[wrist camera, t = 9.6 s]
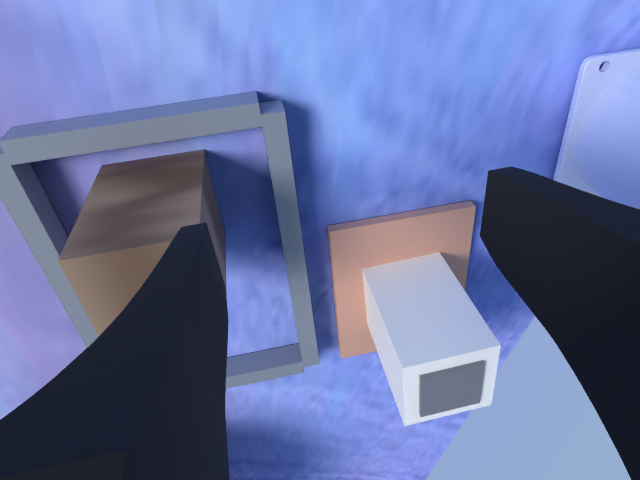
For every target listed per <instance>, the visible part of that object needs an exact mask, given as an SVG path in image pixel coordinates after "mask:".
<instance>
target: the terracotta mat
mask: <svg viewBox="0 0 640 480" xmlns="http://www.w3.org/2000/svg"><path fill="white" fill-rule="evenodd" d="M475 210H476V205H475V204H474V203H473V202H472V201H465V202H459V203H454V204H448V205H442V206H437V207H431V208H425V209H420V210H414V211H408V212H402V213H397V214H391V215H385V216H380V217H374V218H368V219H363V220H357V221H351V222H346V223H340V224H334V225H329V226H327V228H328V239H329V249H330V260H331V270H332V281H333V291H334V302H335V312H336V323H337V333H338V344H339V352H340V356H341V358H345V357H350V356H355V355H360V354H365V353H370V352H375V351H377V349H376V346H375V344H374V341H373V338H372V336H371V333H370V330H369V327H368V325H367V314H366V304H365V293H364V283H363V273H362V269H365V268H369V267H374V266H378V265H383V264H387V263H392V262H397V261H401V260H406V259H410V258H415V257H419V256H424V255H429V254H433V253H438V252H440V254H441V255H442V257H443V258H444V260H445V261H446V263H447V264H448V266H449V267H450V269H451V271H452V272H453V274H454V275H455V277H456V278H457V280H458V281H459V283H460V284H461V286H462V287H463V289H464V290H465V286H466V279H467V271H468V263H469V256H470V248H471V241H472V233H473V225H474V218H475Z"/></svg>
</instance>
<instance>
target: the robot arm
mask: <svg viewBox="0 0 640 480" xmlns="http://www.w3.org/2000/svg"><path fill="white" fill-rule="evenodd" d="M603 62H604V65H603V67H602V68H601V69H599V67H600V65H601V64H602V63H603ZM605 198H606V199H605ZM480 237H481V239H482V241H483V243H484V244H485V246H486V248H487V250H488V252H489V254H490V255H491V257H492V259H493V261H494V262H495V264H496V266H497V267H498V268H499V270H500V271H501V272H502V274H503V275H504V276H505V278H506V279H507V280H508V282H509V283H510V284H511V285H512V287H513V288H514V289H515V291H516V292H517V293H518V294H519V296H520V297H521V298H522V300H523V301H524V302H525V303H526V305H527V306H528V307H529V308H530V310H531V311H532V312H533V313H534V315H535V316H536V317H537V319H538V320H539V321H540V322H541V324H542V325H543V326H544V327H545V329H546V330H547V331H548V333H549V334H550V336H551V337H552V338H553V340H554V341H555V343H556V344H557V345H558V347H559V349H560V350H561V352H562V354H563V355H564V357H565V359H566V360H567V362H568V363H569V365H570V367H571V368H572V370H573V371H574V373H575V375H576V376H577V378H578V380H579V382H580V383H581V385H582V387H583V389H584V390H585V392H586V393H587V395H588V397H589V399H590V401H591V402H592V404H593V406H594V408H595V409H596V411H597V413H598V415H599V417H600V419H601V421H602V422H603V424H604V426H605V428H606V430H607V432H608V434H609V436H610V438H611V440H612V441H613V443H614V445H615V447H616V449H617V451H618V452H619V455H620V457H621V459H622V461H623V463H624V465H625V467H626V469H627V471H628V474H629V476H630V478H631V480H640V48H636V49H630V50H623V51H616V52H610V53H603V54H596V55H591V56H588V57H587V58H586V59H584V61H583V62H582V63H581V66H580V69H579V73H578V77H577V81H576V85H575V90H574V94H573V98H572V102H571V106H570V111H569V115H568V119H567V123H566V127H565V132H564V136H563V140H562V144H561V148H560V153H559V157H558V161H557V165H556V170H555V174H554V178H553V180H552V179H549V178H546V177H543V176H541V175H538V174H535V173H532V172H529V171H526V170H522V169H519V168H515V167H506V168H501V169H496V170H490V171H488V178H487V186H486V193H485V201H484V208H483V216H482V224H481V231H480ZM227 343H228V311H227V299H226V289H225V283H224V280H223V277H222V273H221V270H220V266H219V263H218V260H217V256H216V253H215V249H214V246H213V243H212V239H211V236H210V232H209V229H208V226H207V222H205V223H200V224H194V225H189V226H183V227H181V228H180V229H179V231H178V232H177V234H176V235H175V237H174V238H173V240H172V241H171V243H170V245H169V246H168V248H167V249H166V251H165V252H164V254H163V256H162V257H161V259H160V260H159V262H158V263H157V265H156V266H155V268H154V269H153V270H152V272H151V273H150V275H149V276H148V278H147V279H146V281H145V282H144V283H143V285H142V286H141V288H140V289H139V290H138V291H137V293H136V294H135V295H134V297H133V298H132V299H131V300H130V302H129V303H128V304H127V306H126V307H125V308H124V309H123V310H122V312H121V313H120V314H119V315H118V316H117V317H116V319H115V320H114V321H113V322H112V323H111V324H110V325H109V326H108V327H107V328H106V329H105V330H104V331H103V332H102V334H101V335H100V336H99V337H98V338H97V339H96V340H95V341H94V342H93V343H92V344H91V345H90V346H89V347H88V348H87V349H85V350H84V351H83V352H82V353H81V354H80V355H79V356H78V357H77V358H76V359H74V360H73V361H72V362H71V363H70V364H69V365H68V366H67V367H66V368H65V369H64V370H62V371H61V372H60V373H59V374H58V375H57V376H56V377H55V378H53V379H52V380H51V381H50V382H49V383H47V384H46V385H45V386H44V387H42V388H41V389H40V390H39V391H38V392H36V393H35V394H34V395H33V396H31V397H30V398H29V399H27V400H26V401H25V402H24V403H22V404H21V405H20V406H18V407H17V408H16V409H14V410H13V411H12V412H10V413H9V414H8V415H6V416H5V417H4V418H2V419H1V420H0V480H229V467H228V454H227V438H226V422H225V390H226V367H227Z"/></svg>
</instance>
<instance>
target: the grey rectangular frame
mask: <svg viewBox="0 0 640 480" xmlns="http://www.w3.org/2000/svg"><path fill="white" fill-rule="evenodd" d="M257 127H262V128H263V134H264V140H265V146H266V152H267V158H268V164H269V169H270V175H271V181H272V187H273V193H274V199H275V205H276V211H277V217H278V222H279V228H280V234H281V240H282V246H283V252H284V258H285V264H286V269H287V275H288V281H289V287H290V293H291V299H292V305H293V311H294V316H295V322H296V328H297V334H298V340H299V343H298V344H293V345H288V346H283V347H278V348H273V349H268V350H263V351H258V352H253V353H248V354H243V355H238V356H233V357H228V358H227V367H226V388H231V387H236V386H241V385H246V384H250V383H255V382H260V381H265V380H270V379H275V378H280V377H284V376H289V375H294V374H299V373H304V367H307V366H312V365H317V364H319V356H318V349H317V342H316V335H315V327H314V320H313V313H312V305H311V298H310V291H309V283H308V276H307V269H306V261H305V254H304V247H303V239H302V232H301V225H300V217H299V210H298V203H297V196H296V188H295V181H294V174H293V166H292V159H291V152H290V144H289V137H288V130H287V122H286V115H285V110H284V107H283V104H282V101H281V100H274V101H267V102H260V103H259V102H258V97H257V93H256V91H255V92H248V93H242V94H235V95H228V96H221V97H214V98H207V99H201V100H194V101H187V102H180V103H173V104H166V105H159V106H153V107H146V108H139V109H132V110H125V111H118V112H112V113H105V114H98V115H91V116H84V117H77V118H70V119H64V120H57V121H50V122H43V123H36V124H29V125H23V126H16V127H12V128H11V129H10V130H9V131H8V132H7V133H6V134H5V135H4V136H3V137H2V138H1V139H0V198H1V200H2V201H3V203H4V205H5V207H6V208H7V210H8V212H9V214H10V215H11V217H12V219H13V220H14V222H15V224H16V226H17V227H18V229H19V231H20V233H21V234H22V236H23V238H24V240H25V241H26V243H27V245H28V246H29V248H30V250H31V252H32V253H33V255H34V257H35V259H36V260H37V262H38V264H39V266H40V267H41V269H42V271H43V272H44V274H45V276H46V278H47V279H48V281H49V283H50V285H51V286H52V288H53V290H54V291H55V293H56V295H57V297H58V298H59V300H60V302H61V304H62V305H63V307H64V309H65V311H66V312H67V314H68V316H69V317H70V319H71V321H72V323H73V324H74V326H75V328H76V330H77V331H78V333H79V335H80V337H81V338H82V340H83V342H84V343H85V345H86V347H87V348H88V347H89V346H90V345H91V344H92V343H93V342H94V341H95V340H96V339H97V338H98V337H99V336H98V334H97V332H96V330H95V329H94V327H93V325H92V323H91V321H90V319H89V318H88V316H87V314H86V312H85V310H84V308H83V307H82V305H81V303H80V301H79V299H78V297H77V296H76V294H75V292H74V290H73V288H72V286H71V285H70V283H69V281H68V279H67V277H66V275H65V274H64V272H63V270H62V268H61V266H60V264H59V263H58V259H59V257H60V255H61V253H62V250H63V248H64V246H65V244H66V242H67V240H68V236H67V234H66V232H65V230H64V228H63V226H62V224H61V223H60V221H59V219H58V217H57V215H56V213H55V211H54V209H53V207H52V205H51V203H50V201H49V199H48V197H47V195H46V193H45V191H44V189H43V187H42V185H41V183H40V181H39V179H38V177H37V175H36V173H35V171H34V169H33V167H32V165H31V163H30V162H35V161H41V160H48V159H54V158H61V157H68V156H74V155H81V154H87V153H94V152H100V151H107V150H113V149H120V148H126V147H133V146H139V145H146V144H152V143H159V142H165V141H172V140H178V139H185V138H191V137H198V136H204V135H211V134H217V133H224V132H230V131H237V130H243V129H250V128H257Z"/></svg>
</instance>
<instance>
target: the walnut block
mask: <svg viewBox="0 0 640 480" xmlns="http://www.w3.org/2000/svg"><path fill="white" fill-rule="evenodd" d="M205 222H207V226H208V229H209V232H210V236H211V239H212V243H213V246H214V249H215V253H216V256H217V260H218V263H219V266H220V270H221V273H222V277H223V280H224V283H225V289H226V256H225V229H224V225H223V221H222V217H221V214H220V210H219V206H218V202H217V198H216V194H215V190H214V186H213V182H212V179H211V175H210V171H209V167H208V163H207V159H206V155H205V151H204V150H197V151H191V152H184V153H178V154H172V155H165V156H159V157H153V158H146V159H140V160H133V161H127V162H121V163H114V164H108V165H102V166H101V168H100V171H99V173H98V175H97V177H96V179H95V181H94V184H93V186H92V188H91V190H90V192H89V194H88V196H87V199H86V201H85V203H84V205H83V207H82V209H81V212H80V214H79V216H78V218H77V220H76V222H75V225H74V227H73V229H72V231H71V233H70V235H69V238H68V240H67V242H66V244H65V246H64V248H63V250H62V253H61V255H60V257H59V259H58V263H59V264H60V266H61V268H62V270H63V272H64V274H65V275H66V277H67V279H68V281H69V283H70V285H71V286H72V288H73V290H74V292H75V294H76V296H77V297H78V299H79V301H80V303H81V305H82V307H83V308H84V310H85V312H86V314H87V316H88V318H89V319H90V321H91V323H92V325H93V327H94V329H95V330H96V332H97V334H98V336H100V335H101V334H102V332H103V331H104V330H105V329H106V328H107V327H108V326H109V325H110V324H111V323H112V322H113V321H114V320H115V319H116V317H117V316H118V315H119V314H120V313H121V312H122V310H123V309H124V308H125V307H126V306H127V304H128V303H129V302H130V300H131V299H132V298H133V297H134V295H135V294H136V293H137V291H138V290H139V289H140V288H141V286H142V285H143V283H144V282H145V281H146V279H147V278H148V276H149V275H150V273H151V272H152V270H153V269H154V268H155V266H156V265H157V263H158V262H159V260H160V259H161V257H162V256H163V254H164V252H165V251H166V249H167V248H168V246H169V245H170V243H171V241H172V240H173V238H174V237H175V235H176V234H177V232H178V231H179V229H180V228H181V227H183V226H189V225H194V224H200V223H205Z"/></svg>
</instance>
